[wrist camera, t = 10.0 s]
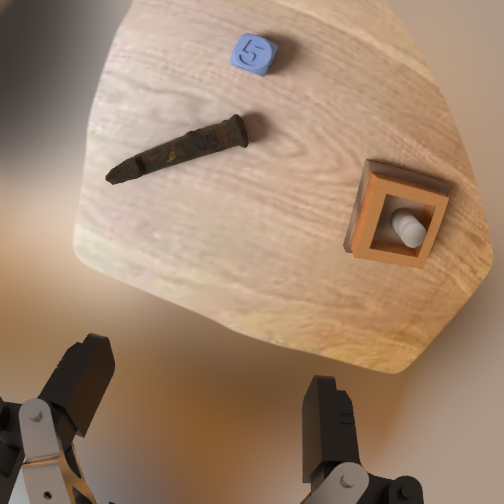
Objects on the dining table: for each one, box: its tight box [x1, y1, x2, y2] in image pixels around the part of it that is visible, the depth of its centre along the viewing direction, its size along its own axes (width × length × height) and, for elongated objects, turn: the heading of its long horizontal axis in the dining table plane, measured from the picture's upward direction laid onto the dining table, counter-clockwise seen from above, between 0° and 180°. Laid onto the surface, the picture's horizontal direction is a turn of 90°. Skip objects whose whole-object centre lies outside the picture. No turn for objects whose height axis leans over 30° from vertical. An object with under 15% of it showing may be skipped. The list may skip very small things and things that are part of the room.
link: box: [350, 171, 449, 269], centre depth 35 cm, size 10×10×3 cm
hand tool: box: [105, 114, 249, 185], centre depth 35 cm, size 19×4×5 cm, turn 104°
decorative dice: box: [230, 33, 278, 77], centre depth 29 cm, size 4×4×4 cm
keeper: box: [343, 160, 451, 253], centre depth 35 cm, size 12×12×7 cm
